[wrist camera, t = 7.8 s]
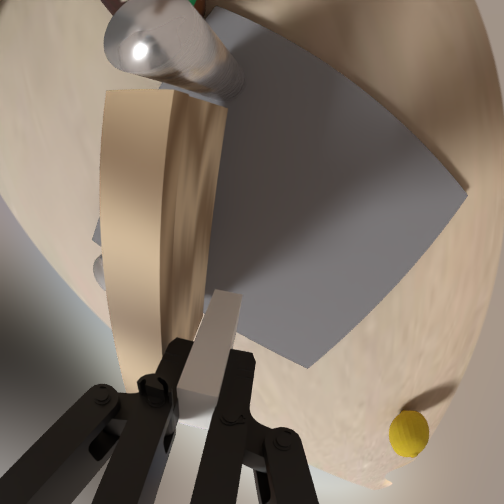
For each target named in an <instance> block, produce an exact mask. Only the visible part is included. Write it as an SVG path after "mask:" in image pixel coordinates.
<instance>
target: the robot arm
mask: <svg viewBox="0 0 504 504" xmlns="http://www.w3.org/2000/svg"><path fill="white" fill-rule="evenodd" d="M241 301H242V294H237V293H232V292H227V291H222V290H217V289H215V290H214V293H213V295H212V298H211V300H210V303H209V305H208V308H207V310H206V313H205V315H204V318H203V320H202V323H201V326H200V328H199V331H198V333H197V336H196V338H195V341H190V340H186V339H182V338H178V337H176V338H175V339H174V340H173V341H171V342H170V343H169V344H168V347H167V349H166V351H165V353H164V355H163V357H162V360H161V361H160V363H159V365H158V367H157V370H156V372H155V374H154V373H151V374H146V375H144V376H142V377H140V378H139V380H138V381H137V386H138V390H139V392H137V393H118V392H117V391H116V390H115V389H114V388H113V387H112V386H110V385H107V384H98V385H94V386H93V387H91V388H90V389H89V390H88V391H87V392H86V393H85V394H84V395H83V396H82V397H81V398H80V399H79V400H78V401H77V402H76V403H75V404H74V405H73V406H72V407H71V408H69V409H68V410H67V411H66V413H64V414H63V416H61V417H60V418H59V419H58V420H57V421H56V423H54V424H53V425H52V427H50V428H49V429H48V430H47V431H46V432H45V433H44V434H43V435H42V437H40V438H39V440H37V441H36V442H35V443H34V444H33V445H32V446H31V447H30V448H29V450H27V451H26V452H25V453H24V455H23V456H22V457H21V458H20V459H19V460H18V461H17V462H16V463H15V464H14V465H13V466H12V467H11V468H10V469H9V470H8V471H7V472H6V473H5V474H4V475H3V476H2V477H1V478H0V504H71V503H72V502H73V501H74V500H75V498H76V497H77V496H78V495H79V494H80V493H81V491H82V490H83V489H84V488H85V487H86V485H87V484H88V483H89V482H90V481H91V479H92V478H93V477H94V476H95V475H96V473H97V472H98V471H99V470H100V468H102V466H103V465H104V464H105V463H106V461H107V460H108V459H109V458H110V457H111V458H110V461H109V463H108V465H107V468H106V470H105V472H104V475H103V477H102V479H101V482H100V484H99V487H98V489H97V491H96V494H95V496H94V499H93V501H92V504H154V501H155V498H156V494H157V491H158V488H159V485H160V482H161V478H162V475H163V472H164V469H165V466H166V463H167V460H168V457H169V453H170V450H171V447H172V444H173V441H174V438H175V435H176V425H177V422H178V419H179V423H181V424H185V425H189V426H193V427H197V428H201V429H205V430H208V434H207V438H206V442H205V446H204V450H203V454H202V458H201V462H200V466H199V470H198V474H197V478H196V482H195V486H194V490H193V494H192V498H191V502H190V504H236V498H237V493H238V487H239V481H240V474H241V468H242V464H244V465H246V466H248V467H250V468H252V469H253V472H254V478H255V483H256V490H257V495H258V501H259V504H319V502H318V499H317V495H316V491H315V488H314V484H313V481H312V477H311V474H310V470H309V466H308V463H307V459H306V456H305V452H304V449H303V445H302V441H301V439H300V437H299V435H298V434H297V433H296V432H295V431H294V430H292V429H289V428H285V427H278V428H274V429H271V428H268V427H266V426H264V425H262V424H260V423H258V422H257V421H256V420H255V419H254V418H253V417H252V415H251V413H250V400H251V393H252V385H253V378H254V371H255V364H256V361H255V359H254V356H253V353H250V352H245V351H240V350H235V349H232V348H233V344H234V340H235V335H236V330H237V325H238V319H239V313H240V307H241ZM111 455H112V456H111Z"/></svg>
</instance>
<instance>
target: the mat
mask: <svg viewBox="0 0 504 504" xmlns="http://www.w3.org/2000/svg"><path fill="white" fill-rule="evenodd" d="M205 21H206V22H207V24H208V25H209V26H210V27H211V29H212V30H213V31H214V32H215V34H216V35H217V36H218V37H219V39H220V40H221V41H222V43H223V44H224V45H225V47H226V48H227V49H228V51H229V52H230V53H231V55H232V56H233V57H234V59H235V60H236V61H237V63H238V64H239V66H240V67H241V68H242V70H243V71H244V73H245V76H246V84H245V87H244V90H243V91H242V93H241V94H240V95H239V96H238V97H236V98H235V99H233V100H230V101H225V102H221V101H216V100H213V99H210V98H208V97H205V96H202V95H199V94H197V93H194V92H191V91H188V90H185V89H182V88H179V87H176V86H173V85H170V84H167V83H163V82H162V84H161V86H160V87H159V89H169V90H177V91H180V92H184V93H187V94H189V96H191V97H194V98H197V99H201V100H204V101H207V102H210V103H213V104H216V105H219V106H222V107H225V108H228V112H227V118H226V125H225V131H224V137H223V144H222V151H221V158H220V165H219V172H218V179H217V187H216V194H215V202H214V210H213V218H212V227H211V236H210V245H209V254H208V264H207V274H206V284H205V295H204V306H203V313H204V314H205V313H206V310H207V308H208V305H209V303H210V300H211V298H212V295H213V293H214V290H215V289H217V290H222V291H227V292H232V293H237V294H242V301H241V307H240V313H239V319H238V325H237V330H236V332H238V333H239V334H241V335H243V336H245V337H247V338H249V339H250V340H252V341H254V342H256V343H258V344H260V345H262V346H264V347H265V348H267V349H269V350H271V351H273V352H275V353H277V354H279V355H281V356H283V357H285V358H287V359H289V360H291V361H293V362H295V363H297V364H299V365H301V366H303V367H305V368H307V369H308V368H309V367H310V366H312V365H313V364H314V363H315V362H316V361H318V360H319V359H320V358H321V357H322V356H323V355H325V354H326V353H327V352H328V351H329V350H330V349H331V348H333V347H334V346H335V345H336V344H337V343H338V342H339V341H340V340H341V339H342V338H344V337H345V336H346V335H347V334H348V333H349V332H350V331H351V330H352V329H353V328H354V327H355V326H356V325H357V324H358V323H360V322H361V321H362V320H363V319H364V318H365V317H366V316H367V315H368V314H369V313H370V312H371V311H372V310H373V309H374V308H375V307H376V306H377V305H378V304H379V303H380V302H381V301H382V300H383V298H384V297H385V296H386V295H387V294H388V293H389V292H390V291H391V290H392V289H393V288H394V287H395V286H396V285H397V284H398V282H399V281H400V280H401V279H402V278H403V277H404V276H405V275H406V274H407V273H408V271H409V270H410V269H411V268H412V267H413V266H414V265H415V263H416V262H417V261H418V260H419V259H420V258H421V256H422V255H423V254H424V253H425V252H426V250H427V249H428V248H429V247H430V245H431V244H432V243H433V242H434V241H435V239H436V238H437V237H438V235H439V234H440V233H441V232H442V230H443V229H444V228H445V226H446V225H447V224H448V223H449V221H450V220H451V219H452V217H453V216H454V214H455V213H456V212H457V210H458V209H459V208H460V206H461V205H462V203H463V202H464V201H465V199H466V198H467V196H468V195H467V193H466V192H465V191H464V190H463V188H462V187H461V186H460V185H459V183H458V182H457V181H456V180H455V179H454V177H453V176H452V175H451V174H450V173H449V171H448V170H447V169H446V168H445V167H444V166H443V165H442V163H441V162H440V161H439V160H438V159H437V158H436V157H435V156H434V155H433V154H432V153H431V151H430V150H429V149H428V148H427V147H426V146H425V145H424V144H423V143H422V142H421V141H420V140H419V139H418V138H417V137H416V136H415V135H414V134H413V133H412V132H411V131H410V130H409V129H408V128H407V127H406V126H404V125H403V124H402V123H401V122H400V121H399V120H398V119H397V118H396V117H395V116H394V115H392V114H391V113H390V112H389V111H388V110H387V109H386V108H384V107H383V106H382V105H381V104H380V103H378V102H377V101H376V100H375V99H374V98H372V97H371V96H370V95H369V94H367V93H366V92H365V91H364V90H362V89H361V88H360V87H359V86H357V85H356V84H355V83H353V82H352V81H351V80H349V79H348V78H347V77H345V76H344V75H342V74H341V73H340V72H338V71H337V70H335V69H334V68H332V67H331V66H329V65H328V64H327V63H325V62H324V61H322V60H320V59H319V58H317V57H316V56H314V55H313V54H311V53H309V52H308V51H306V50H305V49H303V48H301V47H300V46H298V45H296V44H295V43H293V42H291V41H289V40H288V39H286V38H284V37H282V36H280V35H278V34H277V33H275V32H273V31H271V30H269V29H267V28H265V27H263V26H261V25H259V24H257V23H255V22H253V21H251V20H249V19H247V18H244V17H242V16H240V15H238V14H235V13H233V12H231V11H228V10H226V9H224V8H221V7H219V6H215V8H214V9H213V10H212V11H211V13H210V14H209V15H208V16H207V18H206V19H205ZM92 240H93V241H94V242H95V243H97V244H98V245H99V246H101V229H100V217H99V220H98V223H97V226H96V229H95V232H94V235H93V238H92ZM101 247H102V246H101Z"/></svg>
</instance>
